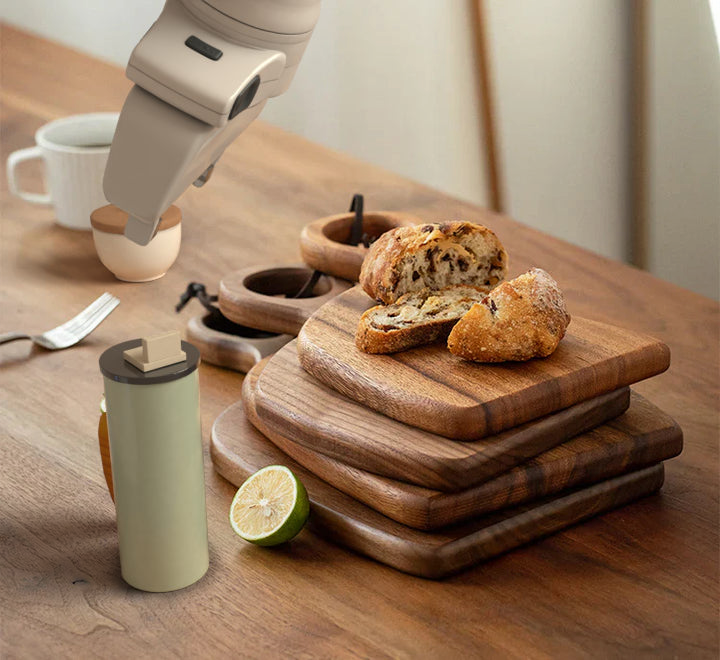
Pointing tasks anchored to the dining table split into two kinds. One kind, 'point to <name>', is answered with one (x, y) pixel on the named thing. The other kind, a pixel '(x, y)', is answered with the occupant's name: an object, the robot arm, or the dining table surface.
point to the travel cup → (157, 468)
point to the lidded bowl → (135, 244)
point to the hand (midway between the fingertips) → (168, 207)
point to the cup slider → (157, 351)
